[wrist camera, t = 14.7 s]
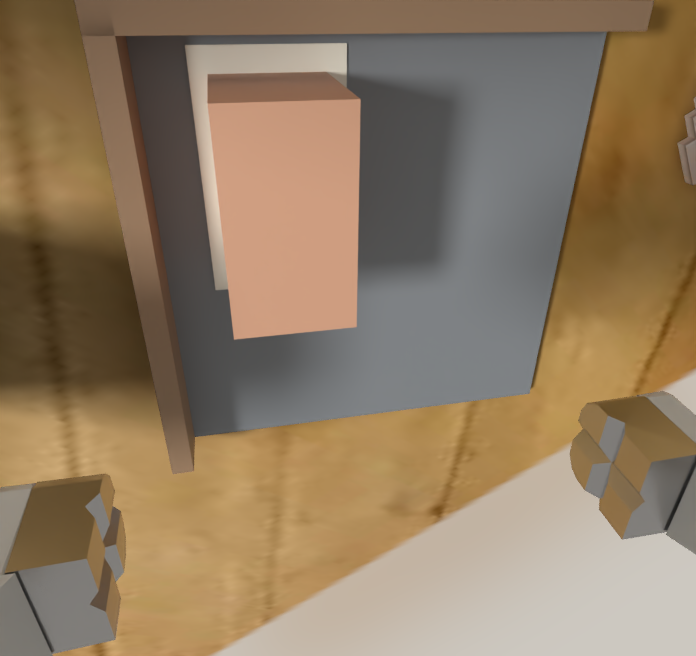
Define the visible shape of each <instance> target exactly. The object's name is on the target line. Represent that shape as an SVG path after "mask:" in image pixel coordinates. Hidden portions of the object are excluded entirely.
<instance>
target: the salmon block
mask: <svg viewBox="0 0 696 656" xmlns="http://www.w3.org/2000/svg"><path fill="white" fill-rule="evenodd" d="M207 104H208V113H209V122H210V131H211V140H212V149H213V158H214V166H215V175H216V184H217V193H218V202H219V211H220V220H221V228H222V237H223V246H224V255H225V264H226V273H227V282H228V291H229V299H230V308H231V317H232V326H233V335H234V340H235V339H245V338H254V337H264V336H274V335H284V334H294V333H304V332H313V331H323V330H333V329H343V328H353V327H357V278H358V221H359V165H360V108H361V99H360V98H359V97H357V96H356V95H355V94H354V93H352V92H351V91H350V90H349V89H347V88H346V87H345V86H344V85H342V84H341V83H340V82H339V81H337V80H336V79H335V78H334V77H332V76H331V75H330V74H329V73H327V72H285V73H237V74H207Z"/></svg>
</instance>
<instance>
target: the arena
mask: <svg viewBox="0 0 696 656" xmlns="http://www.w3.org/2000/svg"><path fill="white" fill-rule="evenodd" d="M74 2H75V7H76V12H77V16H78V21H79V26H80V31H81V36H82V41H83V45H84V50H85V55H86V60H87V65H88V69H89V74H90V79H91V84H92V89H93V93H94V98H95V103H96V108H97V113H98V117H99V122H100V127H101V132H102V137H103V141H104V146H105V151H106V156H107V161H108V166H109V170H110V175H111V180H112V185H113V190H114V194H115V199H116V204H117V209H118V214H119V218H120V223H121V228H122V233H123V238H124V242H125V247H126V252H127V257H128V262H129V267H130V271H131V276H132V281H133V286H134V291H135V295H136V300H137V305H138V310H139V315H140V319H141V324H142V329H143V334H144V339H145V343H146V348H147V353H148V358H149V363H150V367H151V372H152V377H153V382H154V387H155V392H156V396H157V401H158V406H159V411H160V416H161V420H162V425H163V430H164V435H165V440H166V444H167V449H168V454H169V459H170V464H171V468H172V473H173V474H177V473H184V472H191V471H194V447H195V437H198V436H206V435H214V434H221V433H229V432H237V431H245V430H252V429H260V428H268V427H275V426H283V425H291V424H299V423H306V422H314V421H322V420H329V419H337V418H345V417H352V416H360V415H368V414H376V413H383V412H391V411H399V410H406V409H414V408H422V407H429V406H437V405H445V404H453V403H460V402H468V401H476V400H483V399H491V398H499V397H506V396H514V395H522V394H529V393H530V388H531V384H532V379H533V374H534V370H535V365H536V360H537V356H538V351H539V346H540V342H541V337H542V332H543V328H544V323H545V318H546V314H547V309H548V304H549V300H550V295H551V290H552V286H553V281H554V276H555V272H556V267H557V262H558V258H559V253H560V248H561V244H562V239H563V234H564V230H565V225H566V220H567V216H568V211H569V206H570V202H571V197H572V192H573V188H574V183H575V178H576V174H577V169H578V164H579V160H580V155H581V150H582V146H583V141H584V136H585V132H586V127H587V122H588V118H589V113H590V108H591V104H592V99H593V94H594V90H595V85H596V80H597V76H598V71H599V66H600V62H601V57H602V52H603V48H604V43H605V38H606V34H607V32H608V31H647V28H648V24H649V20H650V16H651V12H652V8H653V4H654V1H653V0H74ZM285 72H327V73H329V74H330V75H331V76H332V77H334V78H335V79H336V80H337V81H339V82H340V83H341V84H342V85H344V86H345V87H346V88H347V89H349V90H350V91H351V92H352V93H354V94H355V95H356V96H357V97H359V98H360V99H361V108H360V165H359V221H358V278H357V327H353V328H343V329H333V330H323V331H313V332H304V333H294V334H284V335H274V336H264V337H254V338H245V339H235V340H234V335H233V326H232V317H231V308H230V299H229V291H228V282H227V273H226V264H225V255H224V246H223V237H222V228H221V220H220V211H219V202H218V193H217V184H216V175H215V166H214V158H213V149H212V140H211V131H210V122H209V113H208V104H207V74H237V73H285Z"/></svg>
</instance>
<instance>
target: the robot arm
mask: <svg viewBox="0 0 696 656" xmlns="http://www.w3.org/2000/svg"><path fill="white" fill-rule="evenodd" d="M578 421H579V423H580V425H581V426H582V428H583V430H582V431H581V432H580V433H579V434H578V435H577V436H576V437H575V438H574V439H573V441H572V446H571V450H570V458H571V465H572V470H573V472H574V474H575V476H576V478H577V480H578V482H579V483H580V484H581V486H582V487H583V489H584V490H585V491H587V492H589V493H591V494H593V495H594V496H596V497H598V498H600V503H599V510H600V511H601V512H602V514H603V515H604V516H605V518H606V519H607V520H608V522H609V523H610V524H611V526H612V527H613V528H614V529H615V531H616V532H617V533H618V535H619V536H620V537H621V539H628V538H634V537H640V536H646V535H651V534H657V533H664V532H667V533H666V535H667V536H669V537H670V538H672V539H674V540H675V541H676V542H678V543H679V544H681V545H683V546H684V547H685V548H687V549H689V550H690V551H692V552H693V553H695V554H696V415H695V414H693V413H692V412H691V411H690V410H689V409H688V408H687V407H686V406H684V405H683V404H682V403H681V402H680V401H679V400H678V399H676V398H675V397H674V396H673V395H671V394H669V393H667V392H664V391H660V392H654V393H648V394H641V395H637V396H630V397H624V398H617V399H611V400H605V401H598V402H592V403H587V404H586V405H585V406H584V407H583V409H582V410H581V413H580V416H579V420H578ZM114 493H115V490H114V487H113V484H112V481H111V478H110V476H109V475H107V474H99V475H91V476H83V477H74V478H66V479H58V480H50V481H42V482H37V483H33V484H24V485H15V486H7V487H1V488H0V656H53V655H52V654H54V653H59V652H63V651H67V650H72V649H76V648H81V647H85V646H90V645H94V644H99V643H103V642H107V641H112V640H115V638H116V631H117V623H118V616H119V608H120V600H121V597H120V594H119V591H118V587H117V584H116V581H117V580H118V579H119V577H120V576H121V575H122V574H123V573H124V568H125V559H126V536H125V529H124V522H123V518H122V515H121V511H119V510H118V509H116V508H115V507H113V499H114Z"/></svg>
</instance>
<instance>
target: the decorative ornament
mask: <svg viewBox="0 0 696 656" xmlns="http://www.w3.org/2000/svg"><path fill="white" fill-rule="evenodd" d="M694 103H695V110H693V111H691V112H690V113H688V114H686V115H685V122H686V127H687V133H688V137H687V138H685V139H683V140H682V141H680V142H678V148H679V154H680V159H681V164H682V169H683V175H684V180H685V182H686V183H688V184H691V185H694V184H696V97H695V98H694Z"/></svg>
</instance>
